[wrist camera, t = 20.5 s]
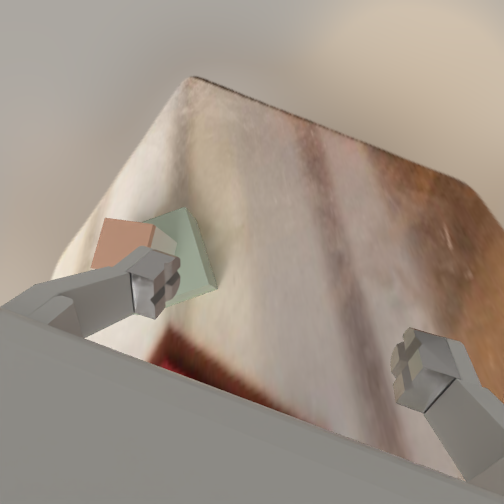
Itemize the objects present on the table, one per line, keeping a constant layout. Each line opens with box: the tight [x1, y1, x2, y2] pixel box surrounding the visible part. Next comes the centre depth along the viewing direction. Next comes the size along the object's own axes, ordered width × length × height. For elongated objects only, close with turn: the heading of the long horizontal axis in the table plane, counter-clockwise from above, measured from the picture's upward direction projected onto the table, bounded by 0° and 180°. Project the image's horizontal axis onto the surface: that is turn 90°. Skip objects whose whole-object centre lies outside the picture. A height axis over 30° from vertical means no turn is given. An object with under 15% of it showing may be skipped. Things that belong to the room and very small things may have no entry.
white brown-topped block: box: [91, 218, 177, 269], centre depth 37 cm, size 6×6×8 cm
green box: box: [133, 207, 218, 315], centre depth 43 cm, size 12×12×6 cm
